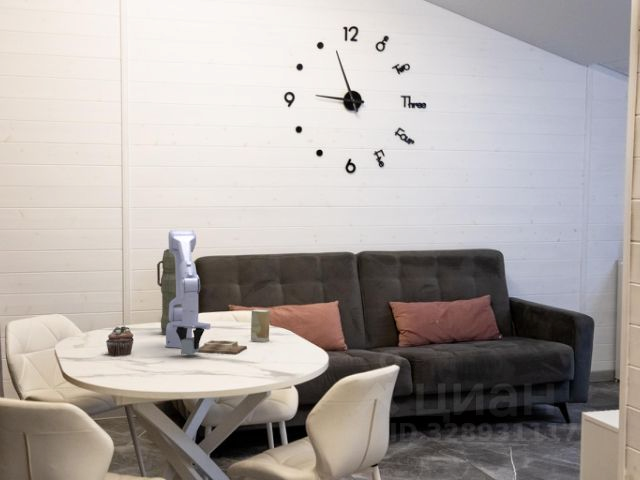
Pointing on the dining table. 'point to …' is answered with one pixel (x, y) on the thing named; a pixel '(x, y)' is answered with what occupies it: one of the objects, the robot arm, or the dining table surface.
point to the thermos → (167, 286)
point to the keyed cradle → (221, 347)
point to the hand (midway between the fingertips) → (190, 348)
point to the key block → (188, 346)
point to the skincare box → (260, 325)
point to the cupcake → (120, 342)
